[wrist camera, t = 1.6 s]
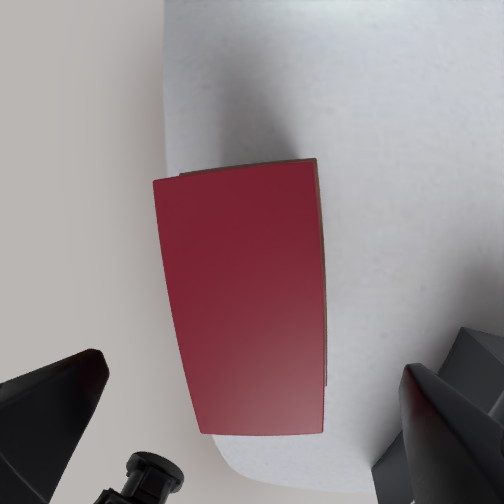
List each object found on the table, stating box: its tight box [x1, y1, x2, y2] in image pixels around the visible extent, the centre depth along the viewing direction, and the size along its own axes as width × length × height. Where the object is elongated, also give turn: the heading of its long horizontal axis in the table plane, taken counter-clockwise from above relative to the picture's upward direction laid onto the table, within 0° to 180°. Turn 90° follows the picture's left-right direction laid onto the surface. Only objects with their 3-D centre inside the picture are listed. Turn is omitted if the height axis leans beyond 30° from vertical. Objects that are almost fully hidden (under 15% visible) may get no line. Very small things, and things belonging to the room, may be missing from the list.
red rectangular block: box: [153, 161, 325, 436], centre depth 12 cm, size 10×5×4 cm, turn 6°
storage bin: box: [371, 327, 504, 504], centre depth 19 cm, size 19×19×9 cm
